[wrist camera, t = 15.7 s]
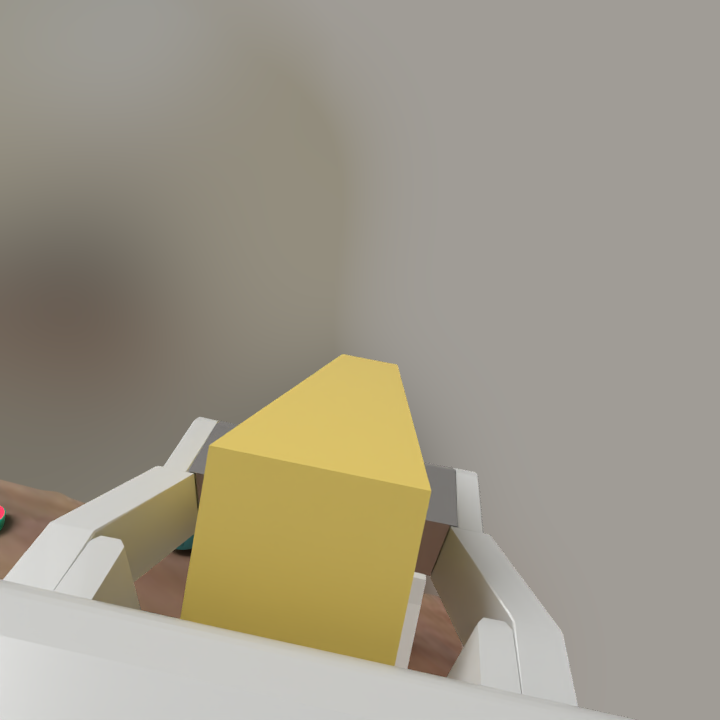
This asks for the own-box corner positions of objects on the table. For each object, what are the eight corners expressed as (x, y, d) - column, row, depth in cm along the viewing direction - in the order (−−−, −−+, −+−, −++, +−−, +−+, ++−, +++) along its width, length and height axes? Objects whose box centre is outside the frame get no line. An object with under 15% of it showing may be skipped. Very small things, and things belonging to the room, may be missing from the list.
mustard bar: (393, 672, 7) (431, 491, 7) (179, 624, 7) (209, 445, 7) (388, 411, 29) (397, 364, 29) (333, 400, 29) (342, 354, 29)
